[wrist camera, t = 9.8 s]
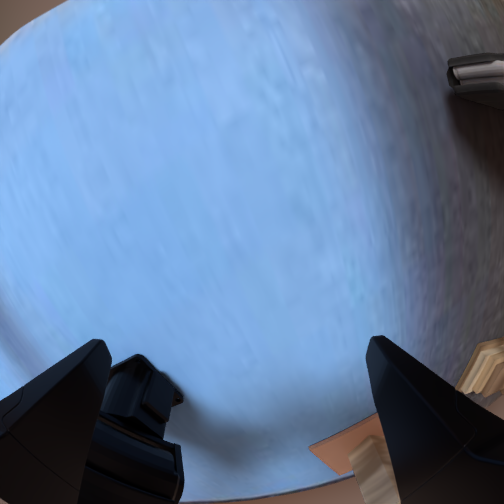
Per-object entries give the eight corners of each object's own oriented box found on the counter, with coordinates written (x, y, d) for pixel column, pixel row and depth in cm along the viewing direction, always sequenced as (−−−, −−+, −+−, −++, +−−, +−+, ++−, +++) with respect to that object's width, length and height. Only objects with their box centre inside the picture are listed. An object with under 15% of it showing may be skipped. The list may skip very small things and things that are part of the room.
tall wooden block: (347, 454, 29) (370, 518, 18) (369, 434, 28) (399, 501, 17) (364, 455, 29) (389, 514, 19) (386, 436, 28) (416, 497, 18)
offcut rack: (453, 390, 28) (471, 413, 23) (477, 343, 26) (501, 364, 21) (490, 377, 29) (507, 395, 24) (511, 334, 27) (531, 351, 22)
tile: (338, 472, 31) (339, 475, 31) (308, 446, 28) (309, 450, 27) (410, 435, 30) (411, 437, 30) (397, 399, 27) (399, 403, 26)
